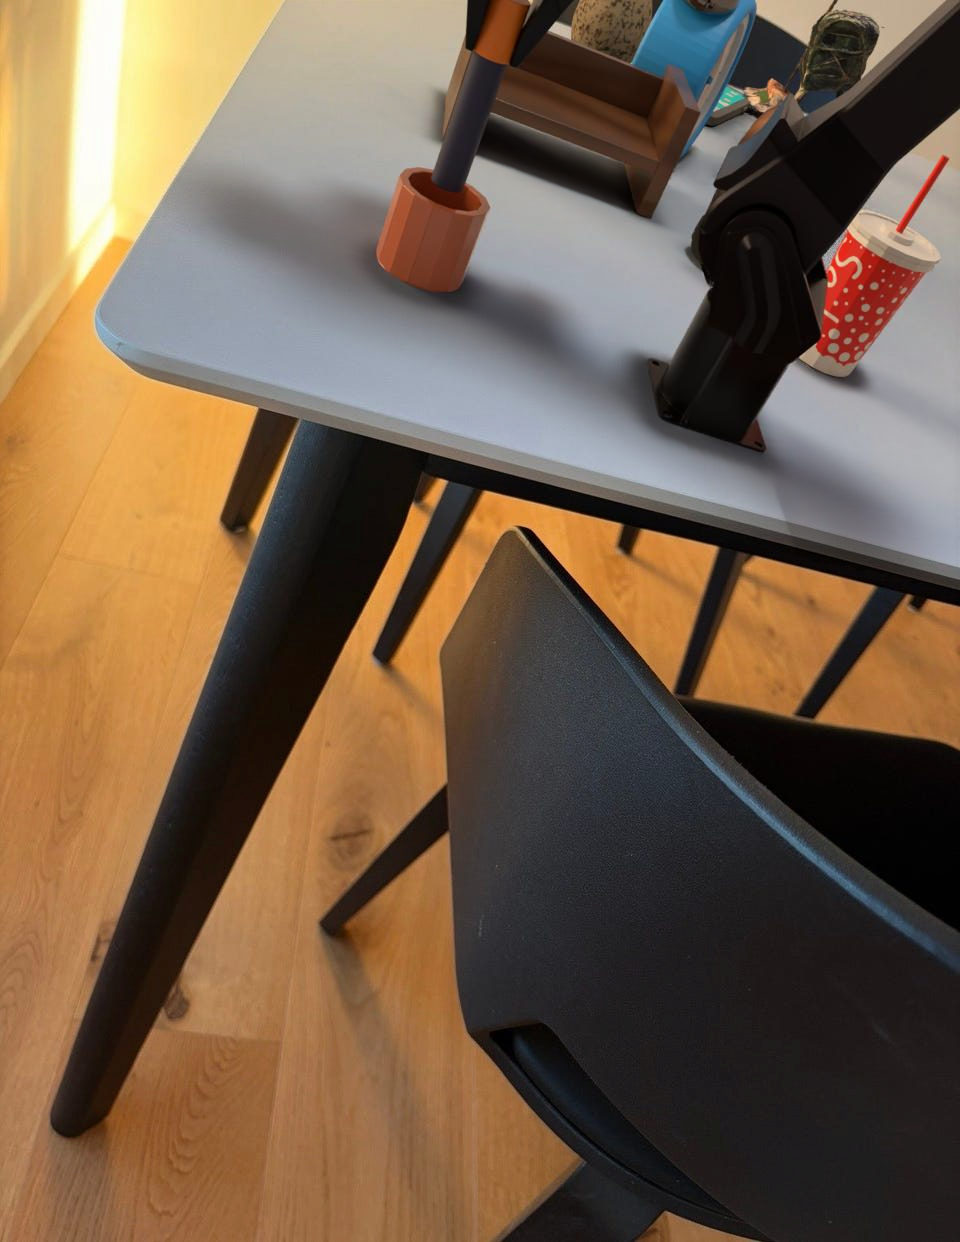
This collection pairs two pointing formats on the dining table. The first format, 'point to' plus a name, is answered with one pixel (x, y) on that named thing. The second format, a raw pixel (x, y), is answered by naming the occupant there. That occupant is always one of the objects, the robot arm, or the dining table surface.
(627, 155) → the shelf
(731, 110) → the smartphone
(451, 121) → the marker
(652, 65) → the alarm clock
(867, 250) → the beverage cup
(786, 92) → the plant with pod
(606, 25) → the decorative egg
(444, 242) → the pen cup
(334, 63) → the dining table surface
